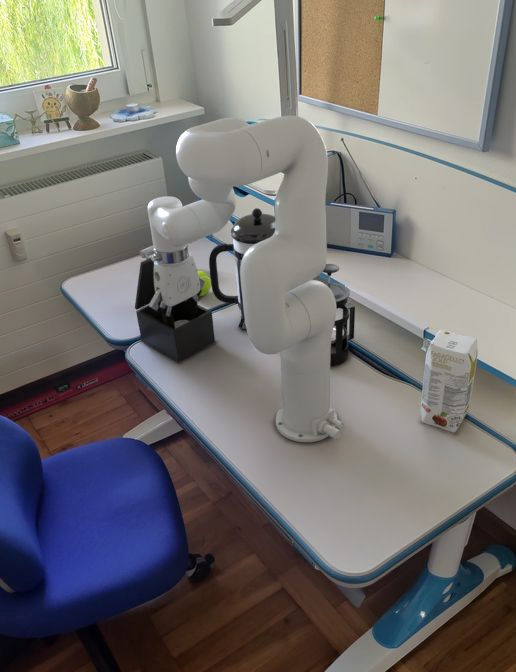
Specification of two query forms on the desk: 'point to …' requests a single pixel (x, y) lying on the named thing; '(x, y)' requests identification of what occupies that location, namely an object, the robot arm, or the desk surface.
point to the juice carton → (448, 379)
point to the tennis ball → (207, 282)
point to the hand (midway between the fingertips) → (181, 321)
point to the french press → (340, 326)
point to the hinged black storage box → (176, 331)
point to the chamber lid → (145, 279)
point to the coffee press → (241, 252)
